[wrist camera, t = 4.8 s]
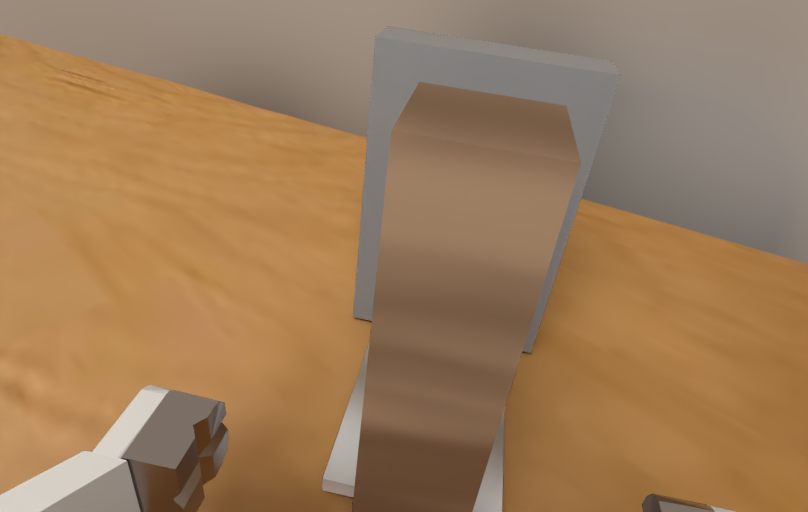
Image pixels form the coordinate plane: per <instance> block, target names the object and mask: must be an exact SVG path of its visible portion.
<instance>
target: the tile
mask: <svg viewBox="0 0 808 512" xmlns="http://www.w3.org/2000/svg"><path fill="white" fill-rule="evenodd" d="M620 76H621V74H620V73H619V72H618V70H617V68H616V67H615V65H614V64H613V62H612V61H609V60H602V59H596V58H590V57H584V56H576V55H570V54H564V53H558V52H551V51H545V50H538V49H532V48H525V47H518V46H512V45H505V44H500V43H493V42H487V41H480V40H474V39H467V38H460V37H454V36H448V35H441V34H435V33H428V32H422V31H415V30H409V29H403V28H396V27H389V26H387V27H386V28H385V29H383V30H382V31H381V32H380V33H379V34H378V35H377V36H375V48H374V59H373V72H372V85H371V97H370V110H369V123H368V135H367V148H366V161H365V173H364V186H363V198H362V211H361V224H360V236H359V249H358V262H357V274H356V287H355V300H354V312H353V317H355V318H360V319H365V320H370V321H372V312H373V303H374V293H375V283H376V273H377V264H378V254H379V244H380V235H381V225H382V215H383V206H384V196H385V186H386V177H387V167H388V157H389V148H390V138H391V130H392V128H393V126H394V125H395V123H396V121H397V120H398V118H399V116H400V114H401V113H402V111H403V109H404V107H405V106H406V104H407V102H408V101H409V99H410V97H411V95H412V94H413V92H414V90H415V88H416V87H417V85H418V83H419V82H425V83H431V84H437V85H443V86H449V87H455V88H461V89H467V90H474V91H480V92H486V93H492V94H498V95H504V96H510V97H517V98H523V99H529V100H535V101H541V102H547V103H553V104H560V105H566V106H567V109H568V113H569V117H570V121H571V125H572V129H573V133H574V137H575V141H576V145H577V149H578V152H579V156H580V160H581V165H580V168H579V171H578V175H577V178H576V181H575V184H574V187H573V191H572V194H571V197H570V200H569V204H568V207H567V210H566V213H565V216H564V220H563V223H562V226H561V229H560V232H559V236H558V239H557V242H556V245H555V248H554V252H553V255H552V258H551V261H550V264H549V268H548V271H547V274H546V277H545V281H544V284H543V287H542V290H541V293H540V297H539V300H538V303H537V306H536V309H535V313H534V316H533V319H532V322H531V325H530V329H529V332H528V335H527V338H526V341H525V345H524V348H523V352H528V353H531V351H532V348H533V345H534V342H535V339H536V336H537V333H538V330H539V327H540V324H541V321H542V317H543V314H544V311H545V308H546V305H547V302H548V299H549V296H550V293H551V290H552V287H553V283H554V280H555V277H556V274H557V271H558V268H559V265H560V262H561V259H562V256H563V252H564V249H565V246H566V243H567V240H568V237H569V234H570V231H571V228H572V225H573V222H574V218H575V215H576V212H577V209H578V206H579V203H580V200H581V197H582V194H583V190H584V187H585V184H586V181H587V178H588V175H589V172H590V169H591V166H592V163H593V159H594V157H595V153H596V150H597V147H598V144H599V141H600V138H601V135H602V132H603V129H604V126H605V122H606V119H607V116H608V113H609V110H610V107H611V104H612V101H613V98H614V95H615V92H616V88H617V85H618V82H619V79H620Z"/></svg>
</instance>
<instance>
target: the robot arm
mask: <svg viewBox="0 0 808 512" xmlns="http://www.w3.org/2000/svg"><path fill="white" fill-rule="evenodd" d="M225 415H226V410H225V403H224V402H221V401H217V400H213V399H208V398H204V397H200V396H196V395H192V394H188V393H184V392H180V391H175V390H171V389H167V388H162V387H158V386H153V385H148V386H146V387H145V388H143V389H142V390H140V392H139V393H138V394H137V395H136V397H135V398H134V399H133V400H132V402H131V403H130V404H129V406H128V407H127V408H126V409H125V411H124V412H123V413H122V414H121V416H120V417H119V418H118V419H117V421H116V422H115V423H114V425H113V426H112V427H111V428H110V430H109V431H108V432H107V433H106V435H105V436H104V437H103V438H102V440H101V441H100V442H99V444H98V445H97V446H96V447H95V449H94V450H93V451H92V452H90V451H85V450H84V451H82V452H81V453H79V454H77V455H75V456H73V457H71V458H69V459H67V460H65V461H64V462H62V463H60V464H58V465H56V466H54V467H52V468H50V469H48V470H47V471H45V472H43V473H41V474H39V475H37V476H35V477H33V478H31V479H30V480H28V481H26V482H24V483H22V484H20V485H18V486H16V487H14V488H13V489H11V490H9V491H7V492H5V493H3V494H1V495H0V512H197V511H198V509H199V507H200V505H201V503H202V501H203V499H204V498H205V497H204V490H203V485H204V484H205V483H207V482H208V481H210V480H211V479H213V478H214V477H216V475H217V473H218V471H219V469H220V467H221V465H222V463H223V460H224V457H225V454H226V451H227V446H228V429H227V428H226V427H225V425H224V424H223V423H222V420H223V419H224V417H225ZM642 508H643V512H736V511H732V510H727V509H722V508H718V507H713V506H707V505H706V504H702V503H697V502H692V501H687V500H682V499H677V498H672V497H667V496H662V495H657V494H650V495H648V496H647V497H646V498H645V500H644V502H643V503H642Z"/></svg>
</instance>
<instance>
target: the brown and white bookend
mask: <svg viewBox="0 0 808 512" xmlns="http://www.w3.org/2000/svg"><path fill="white" fill-rule="evenodd" d="M580 165H581V160H580V156H579V152H578V149H577V145H576V141H575V137H574V133H573V129H572V125H571V121H570V117H569V113H568V109H567V106H566V105H560V104H553V103H547V102H541V101H535V100H529V99H523V98H517V97H510V96H504V95H498V94H492V93H486V92H480V91H474V90H467V89H461V88H455V87H449V86H443V85H437V84H431V83H425V82H419V83H418V85H417V87H416V88H415V90H414V92H413V94H412V95H411V97H410V99H409V101H408V102H407V104H406V106H405V107H404V109H403V111H402V113H401V114H400V116H399V118H398V120H397V121H396V123H395V125H394V126H393V128H392V130H391V138H390V148H389V157H388V167H387V177H386V186H385V196H384V206H383V215H382V225H381V235H380V244H379V254H378V264H377V273H376V283H375V293H374V303H373V312H372V322H371V332H370V341H369V345H368V348H367V351H366V354H365V357H364V360H363V363H362V366H361V369H360V372H359V374H358V377H357V380H356V383H355V386H354V389H353V392H352V395H351V398H350V401H349V404H348V407H347V409H346V412H345V415H344V418H343V421H342V424H341V427H340V430H339V433H338V436H337V439H336V441H335V444H334V447H333V450H332V453H331V456H330V459H329V462H328V465H327V468H326V471H325V473H324V476H323V483H322V490H323V491H327V492H332V493H336V494H340V495H345V496H349V497H353V506H352V512H502V493H503V453H504V413H505V406H506V402H507V399H508V396H509V393H510V390H511V386H512V383H513V380H514V377H515V374H516V370H517V367H518V364H519V361H520V358H521V354H522V351H523V348H524V345H525V341H526V338H527V335H528V332H529V329H530V325H531V322H532V319H533V316H534V313H535V309H536V306H537V303H538V300H539V297H540V293H541V290H542V287H543V284H544V281H545V277H546V274H547V271H548V268H549V264H550V261H551V258H552V255H553V252H554V248H555V245H556V242H557V239H558V236H559V232H560V229H561V226H562V223H563V220H564V216H565V213H566V210H567V207H568V204H569V200H570V197H571V194H572V191H573V187H574V184H575V181H576V178H577V175H578V171H579V168H580Z"/></svg>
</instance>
